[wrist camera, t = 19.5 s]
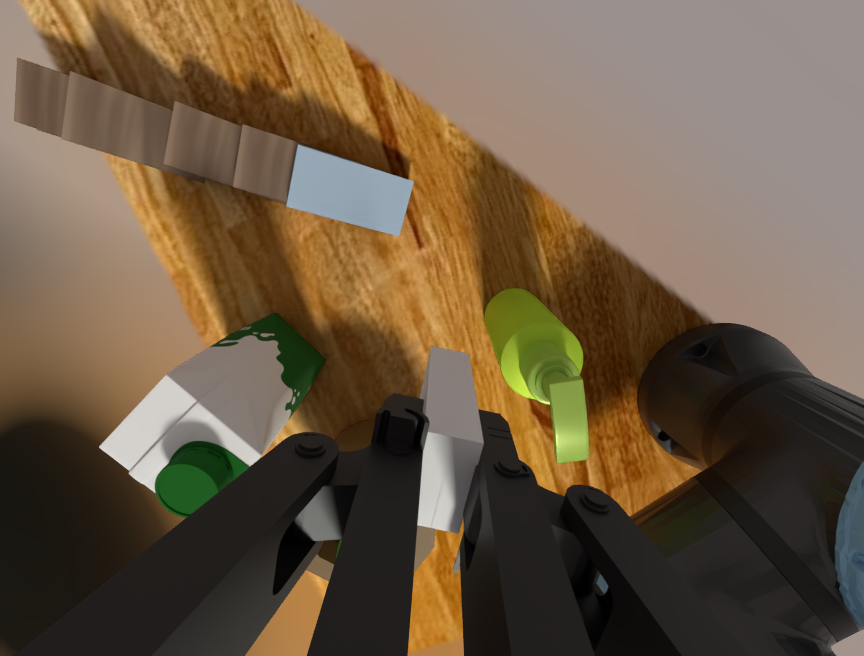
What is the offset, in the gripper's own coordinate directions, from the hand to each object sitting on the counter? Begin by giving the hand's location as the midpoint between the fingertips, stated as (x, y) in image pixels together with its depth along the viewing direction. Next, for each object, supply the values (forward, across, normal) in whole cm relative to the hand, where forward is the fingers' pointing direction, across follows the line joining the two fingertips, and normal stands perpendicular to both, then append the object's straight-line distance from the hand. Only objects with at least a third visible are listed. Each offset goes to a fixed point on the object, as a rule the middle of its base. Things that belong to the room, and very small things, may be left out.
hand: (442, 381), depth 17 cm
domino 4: (+26, +10, -6) cm, 28 cm away
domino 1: (+24, +28, -7) cm, 38 cm away
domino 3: (+26, +15, -6) cm, 30 cm away
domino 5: (+25, +5, -6) cm, 26 cm away
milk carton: (+27, +15, +12) cm, 33 cm away
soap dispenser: (+27, -8, +3) cm, 28 cm away
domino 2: (+26, +23, -6) cm, 35 cm away
